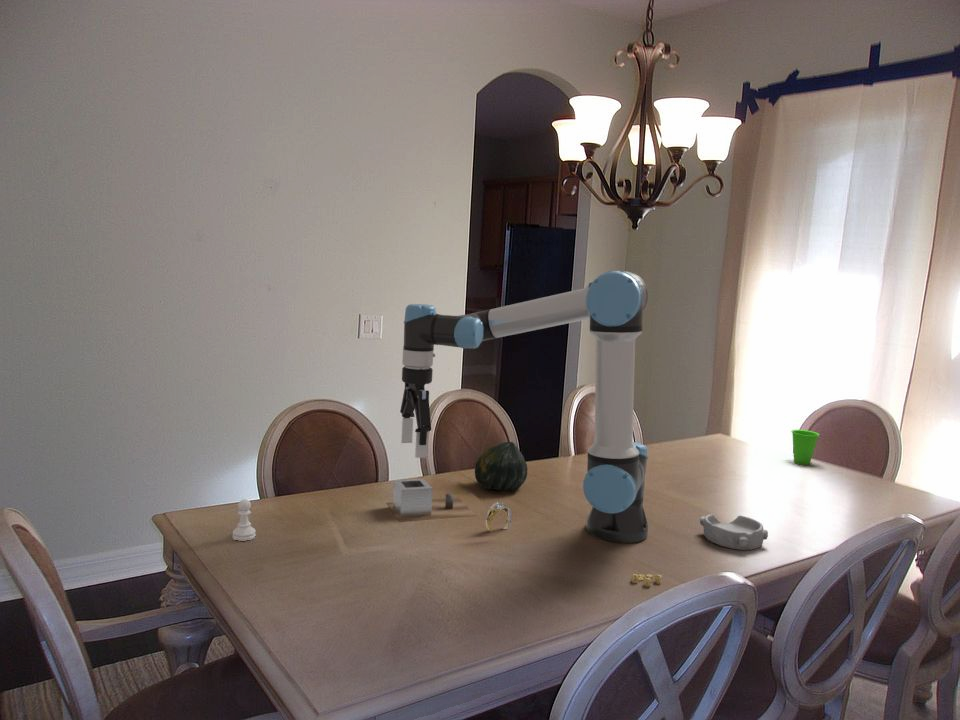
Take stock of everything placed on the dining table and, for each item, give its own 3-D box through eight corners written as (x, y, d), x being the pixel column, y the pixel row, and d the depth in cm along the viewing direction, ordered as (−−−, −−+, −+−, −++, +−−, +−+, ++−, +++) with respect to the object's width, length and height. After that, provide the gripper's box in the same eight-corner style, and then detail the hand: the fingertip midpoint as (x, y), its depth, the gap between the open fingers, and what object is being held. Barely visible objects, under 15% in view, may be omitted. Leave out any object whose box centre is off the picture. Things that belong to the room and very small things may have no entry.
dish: (691, 533, 184) (693, 514, 183) (736, 528, 189) (738, 510, 188) (730, 556, 171) (732, 535, 170) (776, 550, 175) (778, 530, 175)
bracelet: (489, 538, 173) (490, 506, 171) (482, 534, 175) (483, 502, 174) (513, 534, 176) (515, 502, 175) (506, 529, 179) (508, 498, 178)
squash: (463, 462, 216) (482, 433, 206) (507, 460, 223) (527, 432, 213) (477, 504, 208) (497, 477, 197) (521, 501, 214) (543, 474, 204)
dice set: (662, 584, 154) (663, 576, 154) (650, 592, 150) (650, 583, 150) (641, 576, 158) (642, 568, 157) (629, 583, 154) (629, 575, 154)
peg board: (476, 520, 184) (477, 496, 183) (399, 526, 177) (400, 502, 176) (458, 501, 197) (459, 479, 196) (386, 507, 190) (387, 484, 189)
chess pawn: (260, 537, 167) (260, 499, 165) (243, 543, 162) (243, 505, 161) (245, 531, 169) (245, 494, 168) (227, 538, 165) (227, 500, 163)
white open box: (431, 514, 183) (432, 488, 182) (400, 517, 180) (401, 490, 179) (422, 504, 190) (423, 478, 189) (392, 506, 188) (393, 480, 187)
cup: (817, 462, 258) (821, 432, 257) (813, 468, 251) (817, 437, 249) (790, 457, 263) (793, 428, 261) (786, 463, 255) (789, 432, 254)
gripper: (447, 375, 170) (442, 463, 173) (418, 359, 193) (414, 436, 196) (416, 375, 167) (411, 464, 170) (391, 358, 190) (387, 437, 193)
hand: (413, 449), depth 183 cm, fingers open, 13 cm apart
